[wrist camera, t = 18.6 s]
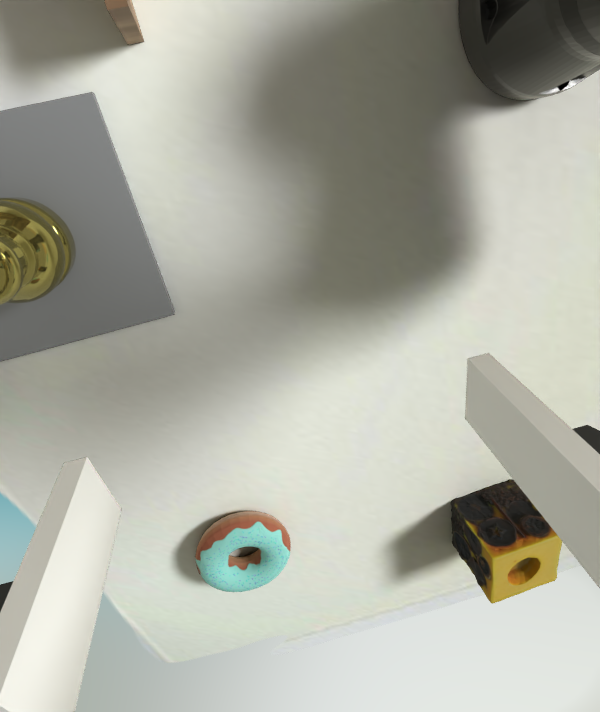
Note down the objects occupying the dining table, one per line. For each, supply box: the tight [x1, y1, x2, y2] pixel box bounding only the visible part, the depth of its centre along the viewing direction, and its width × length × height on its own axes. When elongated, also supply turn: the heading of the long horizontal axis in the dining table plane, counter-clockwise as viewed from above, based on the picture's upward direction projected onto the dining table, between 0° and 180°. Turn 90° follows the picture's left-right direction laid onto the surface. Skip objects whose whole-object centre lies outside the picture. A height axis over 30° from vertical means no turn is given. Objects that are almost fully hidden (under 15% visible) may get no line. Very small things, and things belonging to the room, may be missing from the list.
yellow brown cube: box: [451, 480, 562, 603], centre depth 58 cm, size 10×10×10 cm
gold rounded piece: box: [0, 197, 76, 305], centre depth 29 cm, size 7×7×10 cm
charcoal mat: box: [0, 92, 175, 362], centre depth 34 cm, size 18×18×1 cm
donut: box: [195, 511, 290, 592], centre depth 52 cm, size 12×12×4 cm
